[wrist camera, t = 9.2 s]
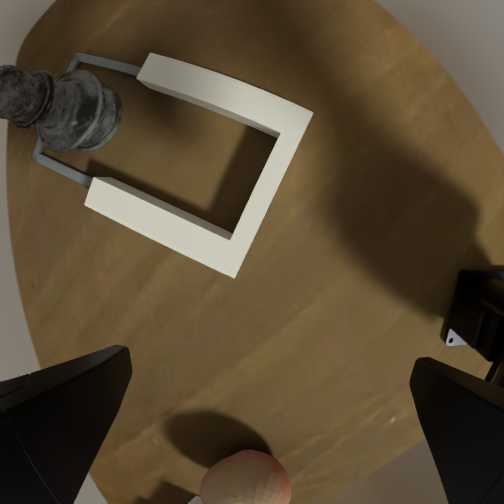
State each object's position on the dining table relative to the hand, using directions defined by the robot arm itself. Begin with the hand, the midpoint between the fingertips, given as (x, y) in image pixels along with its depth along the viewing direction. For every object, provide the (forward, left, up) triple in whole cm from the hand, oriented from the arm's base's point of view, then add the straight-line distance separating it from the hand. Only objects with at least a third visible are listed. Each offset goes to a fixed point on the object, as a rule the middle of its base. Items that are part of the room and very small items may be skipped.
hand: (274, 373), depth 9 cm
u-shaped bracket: (+5, -7, -13) cm, 16 cm away
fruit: (+1, +20, -13) cm, 24 cm away
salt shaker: (+14, -11, -13) cm, 22 cm away
